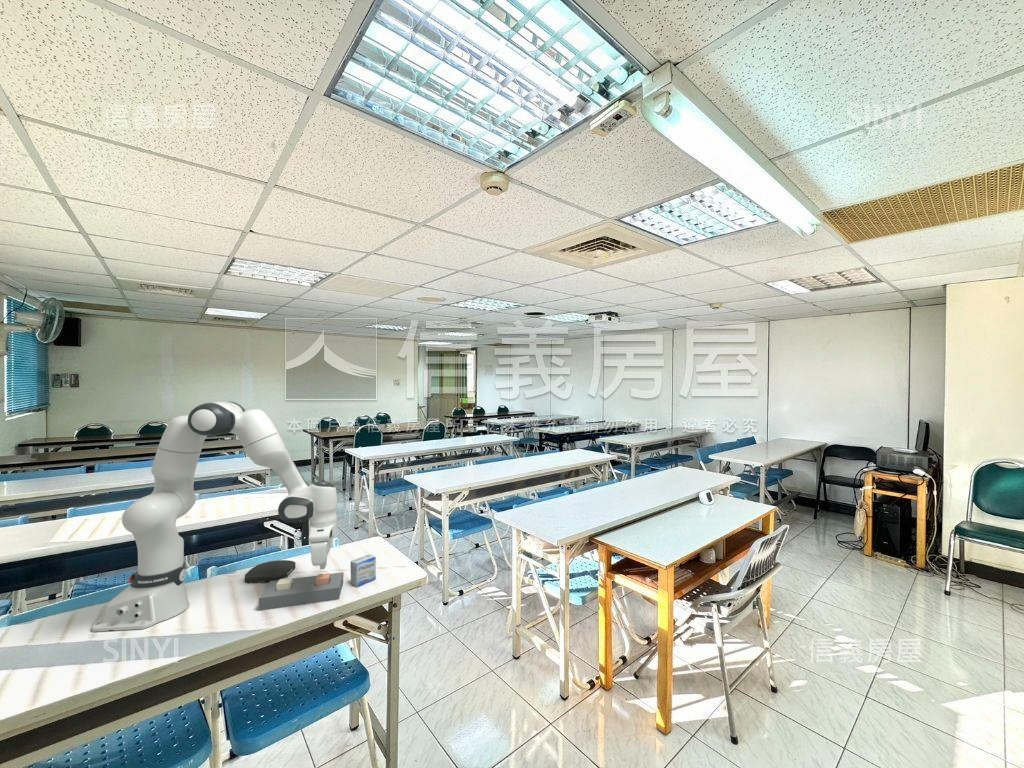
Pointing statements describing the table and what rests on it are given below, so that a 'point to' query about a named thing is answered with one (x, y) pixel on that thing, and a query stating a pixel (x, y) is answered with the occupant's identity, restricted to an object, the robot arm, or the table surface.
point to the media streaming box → (270, 571)
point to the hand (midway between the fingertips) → (323, 567)
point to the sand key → (284, 584)
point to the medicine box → (363, 570)
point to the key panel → (301, 592)
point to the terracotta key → (323, 579)
